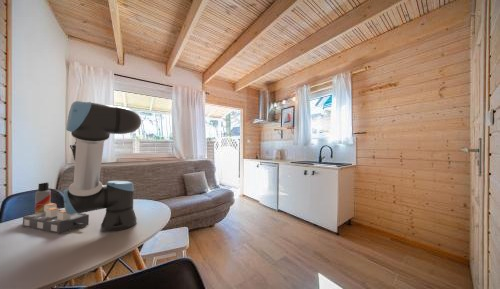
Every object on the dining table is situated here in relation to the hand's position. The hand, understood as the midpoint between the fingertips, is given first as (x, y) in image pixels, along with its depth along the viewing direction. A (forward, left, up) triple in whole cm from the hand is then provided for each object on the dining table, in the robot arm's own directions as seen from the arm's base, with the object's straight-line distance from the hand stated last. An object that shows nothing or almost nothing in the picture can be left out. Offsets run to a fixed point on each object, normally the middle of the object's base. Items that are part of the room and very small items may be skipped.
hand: (83, 173), depth 103 cm
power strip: (-2, +11, -25) cm, 28 cm away
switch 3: (+10, +8, -20) cm, 24 cm away
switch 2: (0, +13, -20) cm, 24 cm away
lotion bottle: (+21, +6, -26) cm, 34 cm away
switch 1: (-10, +13, -20) cm, 26 cm away
